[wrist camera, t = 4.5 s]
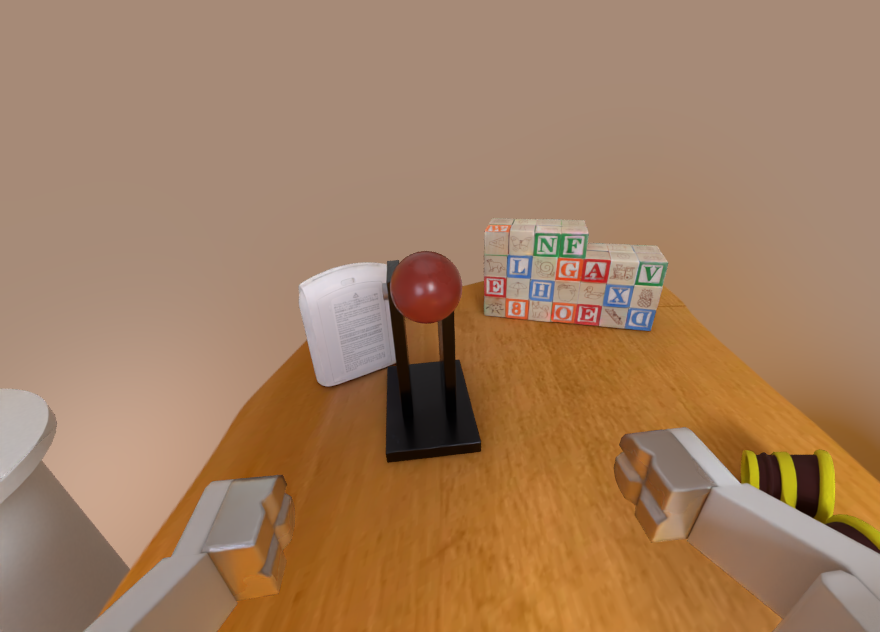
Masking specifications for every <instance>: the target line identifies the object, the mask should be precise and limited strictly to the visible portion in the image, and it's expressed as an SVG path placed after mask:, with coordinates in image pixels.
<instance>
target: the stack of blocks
mask: <svg viewBox="0 0 880 632" xmlns="http://www.w3.org/2000/svg"><path fill="white" fill-rule="evenodd" d="M588 236H589V234H588V230H587V227H586V222H585V220H555V219H539V220H537V219H515V220H514V219H501V218H493V219H492V220H491V222H490V223H489V225H488V226H487V228H486V230H485V240H484V243H485V245H484V246H485V247H484V249H485V251H484V315H487V316H497V317H506V318H515V319H525V320H526V319H528V320H535V321H546V322H550V321H551V322H562V323H575V324H584V325H595V326H598V325H599V326H604V327H614V328H625V329H633V330H645V331H650V330H651V328H652V324H653V321H654V317H655V313H656V309H657V307H658V303H659V299H660V296H661V292H662V286H663V282H664V278H665V274H666V270H667V266H668V262H667V260H666V258H665V257H664V255H663V254H662V253H661V251H660V250H659V248H658V247H657V246H645V245H628V244H604V243H588Z"/></svg>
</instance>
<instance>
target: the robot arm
mask: <svg viewBox="0 0 880 632" xmlns="http://www.w3.org/2000/svg"><path fill="white" fill-rule="evenodd" d="M619 446H620V447H621V449H622V450H623V452H622V453H621V454H620V455H618V456H617V457H616V459H615V464H614V473H615V479H616V482H617V484H618V487H619V489H620V491H621V493H622V494H623V496H624V498H626V499H627V500H629V501H630V502H632V503H633V504H634V505H636V507H635V516H636V518H637V520H638V521H639V523H640V525H641V526H642V528H643V530H644V531H645V533H646V535H647V536H648V538H649V540H650V541H651V543H652V542H661V541H670V540H680V539H687V541H688V542H689V543H690V544H691V545H693V546H694V547H695V548H696V549H698V550H699V551H700V552H701V553H702V554H704V555H705V556H706V557H707V558H709V559H710V560H711V561H712V562H714V563H715V564H716V565H717V566H719V567H720V568H721V569H722V570H723V571H725V572H726V573H727V574H728V575H730V576H731V577H732V578H733V579H735V580H736V581H737V582H738V583H739V584H741V585H742V586H743V587H744V588H746V589H747V590H748V591H749V592H751V593H752V594H753V595H754V596H755V597H757V598H758V599H759V600H760V601H762V602H763V603H764V604H765V605H767V606H768V607H769V608H770V609H771V610H773V611H774V612H775V613H776V614H778V615H779V616H780V617H781V618H783V619H782V621H781V622H780V623H779V624H778V625H777V627H776V628H775V629H774V630H773V631H772V632H880V554H879V553H877V552H875V551H873V550H871V549H869V548H868V547H866V546H864V545H862V544H860V543H858V542H856V541H854V540H853V539H851V538H849V537H847V536H845V535H843V534H841V533H840V532H838V531H836V530H834V529H832V528H830V527H828V526H826V525H825V524H823V523H821V522H819V521H817V520H815V519H813V518H811V517H810V516H808V515H806V514H804V513H802V512H800V511H798V510H797V509H795V508H793V507H791V506H789V505H787V504H785V503H783V502H782V501H780V500H778V499H776V498H774V497H772V496H770V495H768V494H767V493H765V492H763V491H761V490H759V489H757V488H755V487H754V486H752V485H750V484H748V483H743V484H741V483H740V482H739V481H738V480H737V479H736V478H735V477H734V476H733V475H732V474H731V472H730V471H729V470H728V469H727V468H726V467H725V466H724V465H723V464H722V463H721V462H720V461H719V460H718V458H717V457H716V456H715V455H714V454H713V453H712V452H711V451H710V450H709V449H708V448H707V447H706V446H705V444H704V443H703V442H702V441H701V440H700V439H699V438H698V437H697V436H696V435H695V434H694V433H693V432H692V431H691V430H690V429H688V428H686V427H683V428H674V429H666V430H655V431H647V432H639V433H632V434H625V435H624V436H623V437H622V438H621V441H620V444H619ZM286 486H287V483H286V481H285V479H284V476H283V475H275V476H263V477H252V478H241V479H232V480H222V481H212V482H211V483H210V484H209V485H208V486H207V487H206V488H205V490H204V492H203V494H202V496H201V498H200V500H199V502H198V504H197V506H196V508H195V510H194V512H193V514H192V516H191V518H190V520H189V522H188V524H187V526H186V528H185V530H184V532H183V534H182V536H181V538H180V540H179V542H178V544H177V546H176V548H175V550H174V552H173V554H172V556H171V557H168V558H163V559H162V560H161V561H160V562H159V563H158V564H157V565H155V566H154V567H153V568H152V569H151V570H150V571H149V572H148V573H147V574H146V575H144V576H143V577H142V578H141V579H140V580H139V581H138V582H137V583H136V584H135V585H134V586H132V587H131V588H130V589H129V590H128V591H127V592H126V593H125V594H124V595H123V596H121V597H120V598H119V599H118V600H117V601H116V602H115V603H114V604H113V605H112V606H111V607H109V608H108V609H107V610H106V611H105V612H104V613H103V614H102V615H101V616H100V617H98V618H97V619H96V620H95V621H94V622H93V623H92V624H91V625H90V626H89V627H88V628H86V629H85V630H84V631H83V632H217V631H218V630H219V628H220V627H221V625H222V624H223V623H224V621H225V620H226V619H227V617H228V616H229V615H230V613H231V612H232V611H233V609H234V608H235V606H236V605H237V601H240V600H246V599H252V598H258V597H264V596H270V595H276V594H279V590H280V586H281V582H282V578H283V574H284V570H285V566H286V558H285V556H284V553H283V550H284V548H285V547H286V546H287V545H288V544H289V543H290V541H291V540H292V536H293V531H294V525H295V508H294V502H293V500H292V497H291V496H289V495H288V494H286V493H285V490H286Z"/></svg>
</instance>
